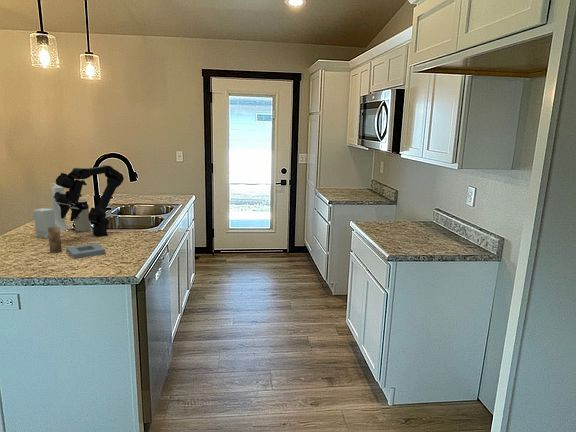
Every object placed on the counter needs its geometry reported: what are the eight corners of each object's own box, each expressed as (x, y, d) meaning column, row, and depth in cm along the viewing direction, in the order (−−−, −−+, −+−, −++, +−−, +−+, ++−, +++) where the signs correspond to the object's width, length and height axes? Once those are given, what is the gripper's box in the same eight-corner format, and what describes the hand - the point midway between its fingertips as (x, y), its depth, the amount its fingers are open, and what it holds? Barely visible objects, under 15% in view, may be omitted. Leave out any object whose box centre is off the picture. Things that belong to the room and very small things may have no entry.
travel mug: (86, 227, 247) (84, 198, 243) (92, 230, 242) (90, 200, 238) (72, 230, 241) (70, 200, 237) (79, 232, 236) (76, 202, 232)
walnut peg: (60, 249, 202) (58, 226, 200) (62, 252, 199) (60, 228, 196) (49, 251, 199) (46, 227, 197) (51, 253, 196) (49, 229, 193)
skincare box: (57, 236, 226) (54, 208, 223) (46, 239, 220) (44, 211, 217) (45, 234, 229) (43, 207, 226) (35, 237, 223) (32, 209, 220)
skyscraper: (57, 231, 235) (53, 184, 230) (50, 229, 239) (46, 182, 233) (70, 229, 242) (67, 182, 236) (63, 227, 246) (60, 181, 240)
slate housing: (96, 247, 208) (96, 243, 208) (105, 253, 198) (104, 249, 198) (66, 251, 199) (66, 247, 199) (73, 258, 189) (73, 254, 189)
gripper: (68, 192, 222) (61, 219, 220) (50, 184, 204) (41, 214, 201) (88, 195, 222) (81, 223, 219) (71, 188, 204) (63, 218, 201)
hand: (66, 219), depth 210 cm, fingers open, 9 cm apart
